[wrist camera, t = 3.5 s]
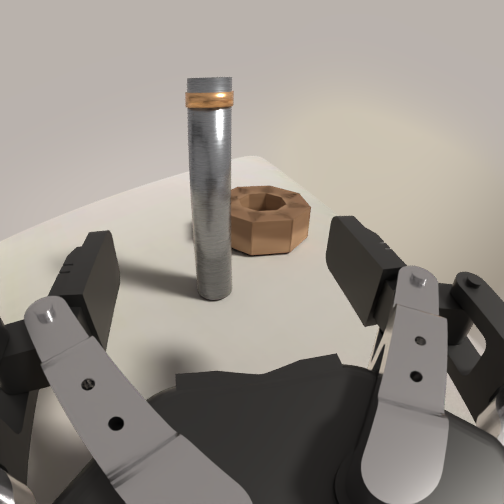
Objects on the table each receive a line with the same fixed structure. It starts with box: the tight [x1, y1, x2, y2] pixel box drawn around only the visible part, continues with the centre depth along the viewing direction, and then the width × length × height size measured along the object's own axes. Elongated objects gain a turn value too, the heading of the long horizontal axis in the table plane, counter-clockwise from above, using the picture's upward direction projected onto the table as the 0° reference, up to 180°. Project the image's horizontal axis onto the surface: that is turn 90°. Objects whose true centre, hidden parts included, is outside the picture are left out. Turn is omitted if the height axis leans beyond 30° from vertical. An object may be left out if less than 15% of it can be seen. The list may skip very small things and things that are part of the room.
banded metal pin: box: [185, 77, 233, 300], centre depth 19 cm, size 3×3×14 cm
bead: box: [231, 186, 311, 255], centre depth 29 cm, size 8×8×3 cm
